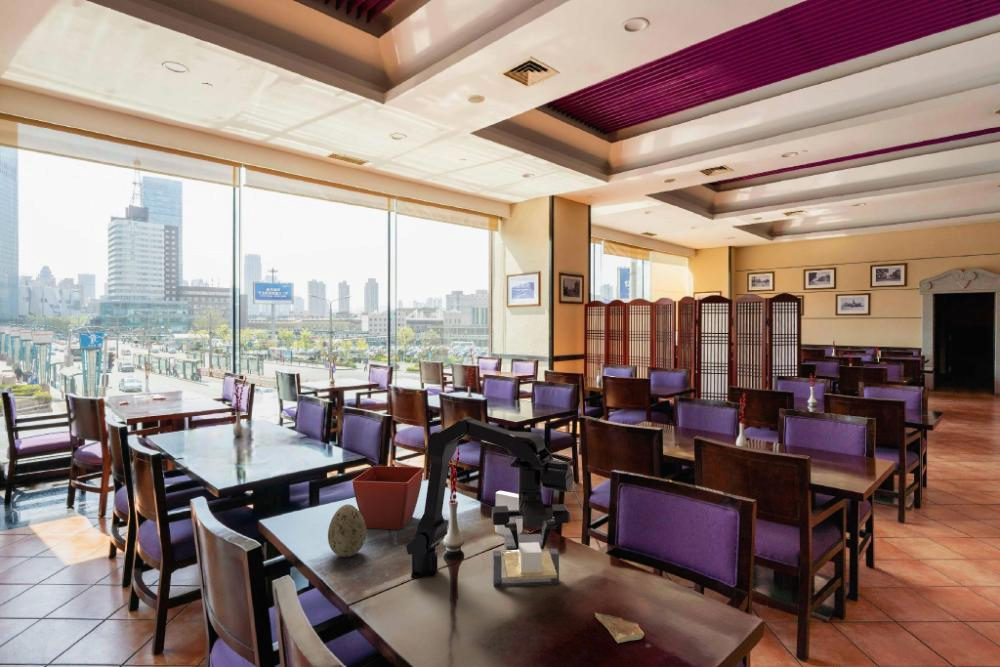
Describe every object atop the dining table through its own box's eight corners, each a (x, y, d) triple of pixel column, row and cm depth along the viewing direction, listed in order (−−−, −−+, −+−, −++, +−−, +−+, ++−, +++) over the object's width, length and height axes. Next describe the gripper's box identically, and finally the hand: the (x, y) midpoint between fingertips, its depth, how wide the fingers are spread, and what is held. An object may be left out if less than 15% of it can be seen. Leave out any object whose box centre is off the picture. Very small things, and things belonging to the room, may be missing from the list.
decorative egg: (333, 567, 144) (333, 513, 144) (323, 553, 154) (323, 502, 153) (371, 558, 150) (371, 506, 150) (359, 544, 159) (359, 496, 159)
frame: (493, 586, 134) (493, 555, 134) (493, 581, 137) (493, 550, 137) (558, 584, 135) (558, 553, 135) (556, 578, 138) (556, 548, 138)
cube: (521, 572, 125) (521, 553, 125) (518, 562, 130) (518, 542, 130) (541, 572, 126) (541, 552, 125) (538, 561, 131) (538, 542, 130)
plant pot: (373, 511, 188) (373, 464, 188) (424, 513, 186) (424, 466, 185) (351, 531, 169) (350, 480, 169) (407, 535, 167) (407, 483, 166)
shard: (594, 617, 121) (594, 610, 121) (624, 613, 123) (624, 605, 123) (615, 645, 110) (615, 637, 110) (648, 640, 112) (648, 632, 112)
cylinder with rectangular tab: (527, 528, 172) (527, 492, 172) (513, 537, 165) (513, 500, 164) (504, 523, 177) (504, 488, 177) (489, 531, 170) (489, 495, 169)
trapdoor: (506, 584, 124) (506, 572, 123) (500, 545, 143) (500, 535, 142) (557, 582, 125) (558, 570, 124) (544, 543, 144) (544, 533, 143)
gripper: (494, 497, 119) (494, 565, 119) (575, 495, 120) (574, 562, 121) (491, 483, 130) (491, 544, 130) (565, 481, 131) (564, 542, 132)
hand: (530, 548), depth 128 cm, fingers open, 6 cm apart
